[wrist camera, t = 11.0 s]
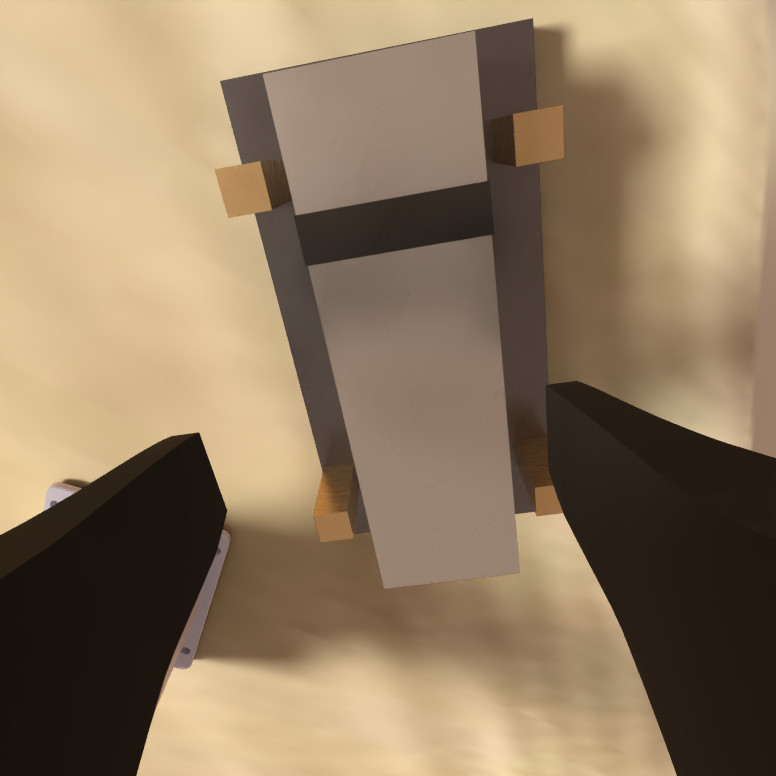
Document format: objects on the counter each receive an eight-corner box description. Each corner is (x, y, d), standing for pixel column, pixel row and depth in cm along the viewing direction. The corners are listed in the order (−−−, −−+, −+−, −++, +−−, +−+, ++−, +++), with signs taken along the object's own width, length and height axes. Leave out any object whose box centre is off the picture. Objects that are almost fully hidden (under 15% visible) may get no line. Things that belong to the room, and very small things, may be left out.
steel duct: (496, 488, 21) (521, 574, 17) (385, 503, 21) (382, 590, 17) (454, 60, 15) (477, 29, 11) (297, 92, 15) (260, 74, 11)
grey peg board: (545, 491, 22) (575, 562, 19) (342, 517, 23) (331, 590, 19) (523, 27, 15) (565, -12, 12) (231, 85, 16) (181, 67, 12)
